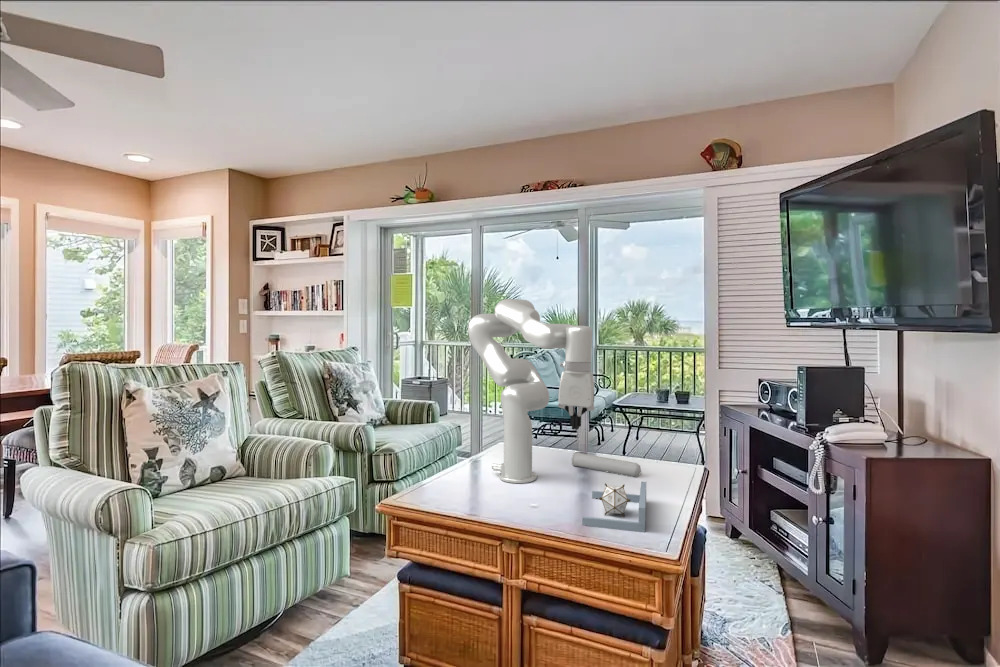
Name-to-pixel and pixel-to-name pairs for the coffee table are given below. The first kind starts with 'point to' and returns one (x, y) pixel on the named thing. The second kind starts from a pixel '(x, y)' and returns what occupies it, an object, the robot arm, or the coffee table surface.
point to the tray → (620, 523)
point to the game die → (614, 499)
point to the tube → (606, 464)
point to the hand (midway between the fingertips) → (575, 428)
